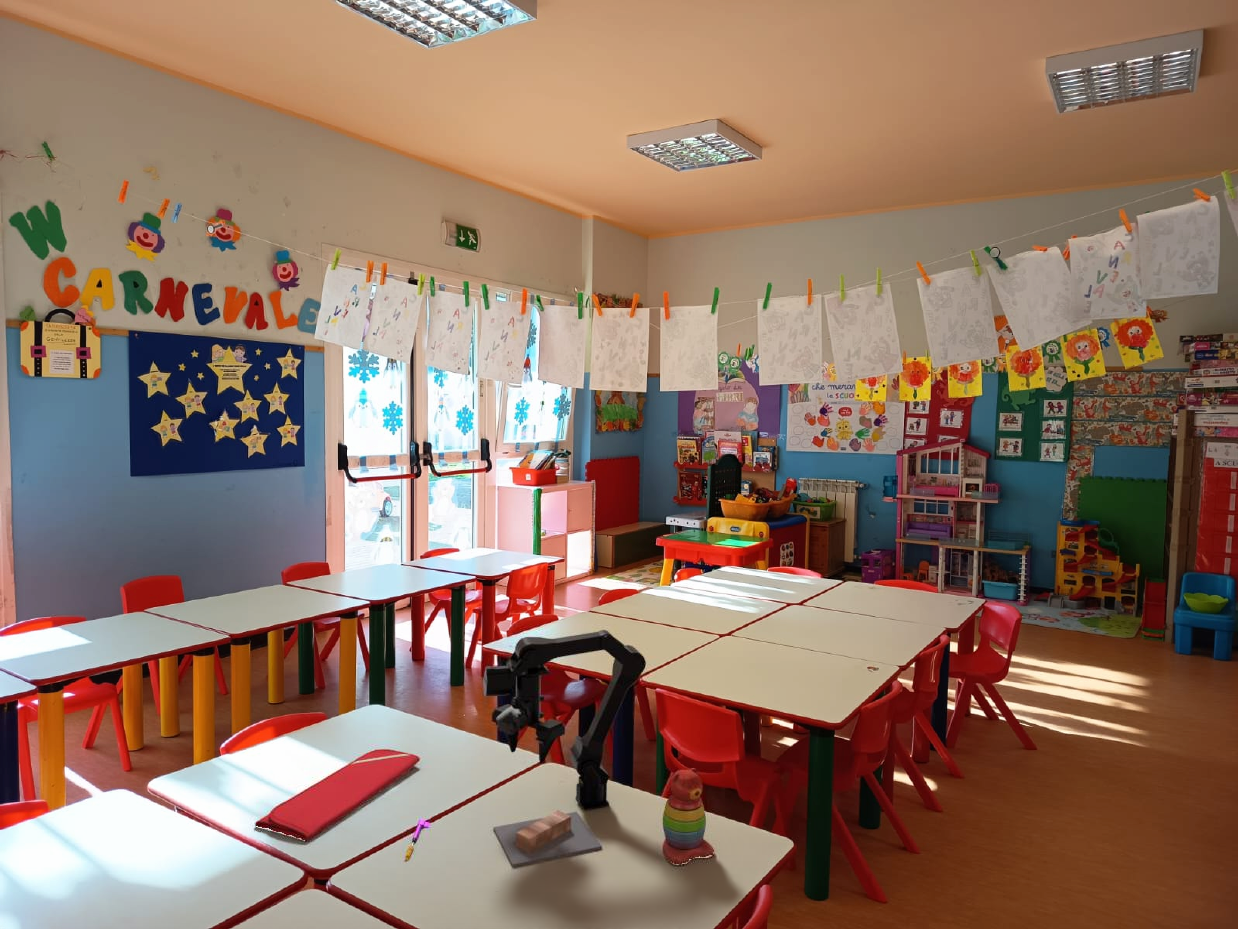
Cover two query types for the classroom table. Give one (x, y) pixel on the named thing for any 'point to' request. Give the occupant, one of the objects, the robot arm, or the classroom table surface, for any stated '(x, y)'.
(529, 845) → the terracotta block
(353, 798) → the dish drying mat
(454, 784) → the classroom table surface
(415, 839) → the pink dart
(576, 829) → the charcoal mat
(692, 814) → the stacking bear
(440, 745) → the classroom table surface
